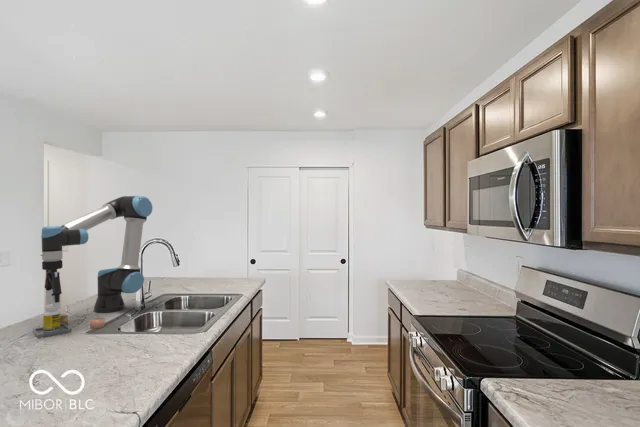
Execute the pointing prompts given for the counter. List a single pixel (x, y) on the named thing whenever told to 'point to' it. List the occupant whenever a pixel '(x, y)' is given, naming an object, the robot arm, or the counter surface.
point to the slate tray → (40, 333)
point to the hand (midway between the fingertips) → (53, 306)
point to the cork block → (64, 319)
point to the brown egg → (97, 323)
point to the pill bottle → (51, 320)
